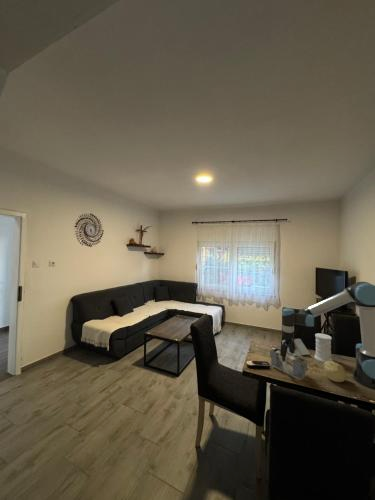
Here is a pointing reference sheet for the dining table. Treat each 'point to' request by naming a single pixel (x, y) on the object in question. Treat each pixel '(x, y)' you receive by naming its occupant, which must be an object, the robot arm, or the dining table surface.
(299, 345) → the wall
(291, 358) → the rail
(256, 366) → the dining table surface
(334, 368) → the pale yellow round lump
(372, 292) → the robot arm
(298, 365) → the bracket stand
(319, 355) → the decorative container
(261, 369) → the dining table surface
